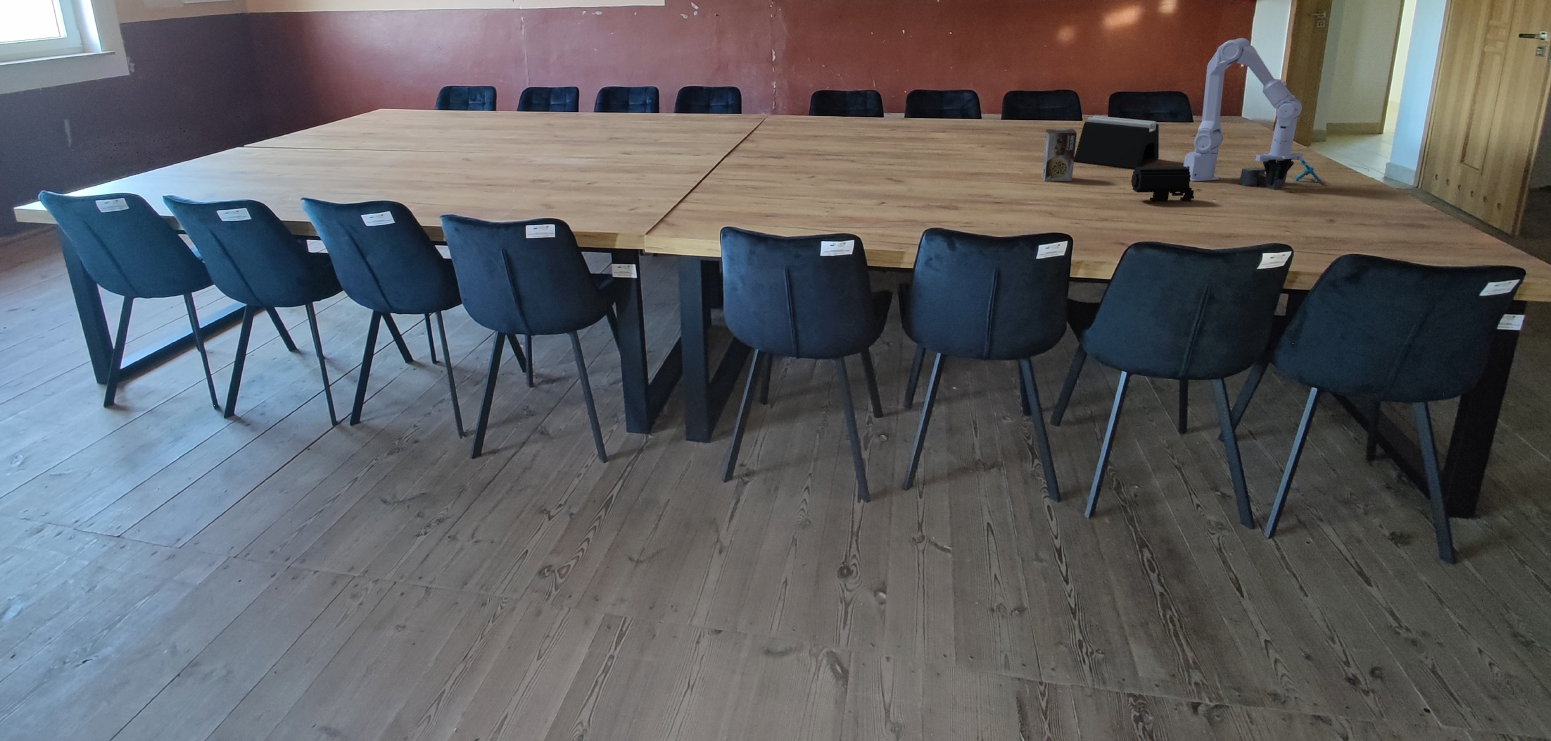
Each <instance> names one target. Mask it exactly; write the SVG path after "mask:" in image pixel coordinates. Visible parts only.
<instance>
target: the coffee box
mask: <svg viewBox="0 0 1551 741" xmlns="http://www.w3.org/2000/svg"><path fill="white" fill-rule="evenodd" d="M1077 134H1078V132H1077V131H1076V130H1075V129H1074V128H1062V129H1061V128H1059V129H1058V128H1055V129H1053V128H1052V129H1051V128H1048V129H1046V130H1045V137H1044V138H1045V140H1044V148H1043V158H1042V170H1041V178H1042V180H1043V181H1044V182H1072V181H1073V173H1074V163H1075V162H1074V157H1075V154H1076V143H1077Z"/></svg>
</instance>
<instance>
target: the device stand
mask: <svg viewBox="0 0 1551 741" xmlns="http://www.w3.org/2000/svg"><path fill="white" fill-rule="evenodd" d="M1159 126H1160V124H1159V123H1157V121H1154V120H1144V119H1133V118H1123V117H1121V118H1120V117H1111V116H1101V115H1093V116H1092V117H1090V116H1089V117H1088V118H1087V121H1084V123H1083V126H1082V130H1081V133H1080V137H1079V140H1078V143H1077V147H1076V149H1075V155H1074V163H1080V164H1086V165H1093V166H1095V165H1096V166H1102V167H1109V168H1110V167H1111V168H1116V169H1117V168H1118V169H1125V170H1133V171H1134V170H1135V169H1136V167H1146V166H1147V165H1149V164H1151V163H1155V162H1156V161H1158V160H1159V158H1160V150H1159V149H1160V148H1159V147H1160V145H1159V144H1160V143H1159V142H1160V140H1159V138H1160V137H1159V134H1160V127H1159Z"/></svg>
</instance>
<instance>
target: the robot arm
mask: <svg viewBox="0 0 1551 741" xmlns="http://www.w3.org/2000/svg"><path fill="white" fill-rule="evenodd" d="M1234 63H1236V64H1240V65H1243V66H1247V67H1248V68H1249V70H1250V71H1251V72H1252V73H1253V75H1254V76H1256V78H1257V79H1258V80H1259V81H1260V83H1261V85H1263V88H1262V94H1263V95H1264V96H1265V97H1266V99H1267V100H1268V101H1269V103H1270V104H1271V105H1272V106H1273V109H1275V115H1276V118H1277V120H1276V123H1275V126H1274V130H1273V136H1272V141H1271V146H1270V151H1269V152H1268V153H1260V154H1256V157H1255V162H1258V163H1262V165H1263V168H1265V171H1266V172H1265V174H1266V179H1267V183H1268V184H1273V181H1274V178H1275V174H1276V178H1279V179H1282V180H1283V178H1284V177H1285V175H1286V173H1287V174H1288V172H1289V171H1290V169H1291V168H1292V167H1293V166H1294V161H1296V160H1297V161H1300V160H1302V159H1303V155H1304V154H1303V153H1301V152H1291V151H1292V148H1293V142H1294V138H1295V134H1296V129H1297V123H1298V119H1299V117H1298V116H1300V114H1301V113H1302V110H1303V106H1302V102H1301V101H1300V100H1299V99H1297V98H1296V96H1295V94H1292V93H1291V92H1290V91H1289V89H1288V88H1287V82H1286V81H1282V80H1281V79H1280V78H1274V76H1273V75H1272V74H1271V71H1270V70H1269V69H1268V67H1267V66H1266V64H1265V62H1264V61H1263V59H1262V58H1261V56H1260V54H1259V53H1258V52H1257V50H1256V48H1255V47H1254V46H1253V45H1251V42H1250V41H1249V40H1248V39H1247V38H1244V37H1239V38H1236V39H1229V40H1227V41H1226V42H1224V43H1222V44H1221V45H1219V46H1218V47H1217V49H1216V52H1215V53H1214V54H1213V56H1212V58H1210V60H1209V62H1208V63H1207V66H1206V75H1205V88H1204V94H1203V95H1204V98H1203V106H1202V119H1201V122H1200V124H1199V126H1198V129H1197V134H1196V136H1195V137H1194V138H1193V139H1194V140H1193V147H1194V151H1190V152H1187V154H1185V157H1184V161H1183V166H1185V167H1187V168H1189V169H1190V170H1189V172H1190V175H1191V178H1190V182H1191V181H1192V182H1199V181H1200V182H1202V181H1203V182H1204V181H1220V178H1219V177H1218V176H1217V177H1216V176H1215V173H1216V167H1217V163H1218V162H1217V161H1218V155H1219V148H1218V147H1220V145H1222V143H1223V140H1224V134H1223V132H1222V124H1221V121H1220V119H1221V111H1222V110H1221V109H1222V98H1223V89H1224V81H1225V80H1224V78H1225V71H1226V70H1227V69H1228V68H1229V67H1230V66H1232V65H1233V64H1234ZM1293 160H1294V161H1293ZM1276 171H1277V172H1276Z"/></svg>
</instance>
